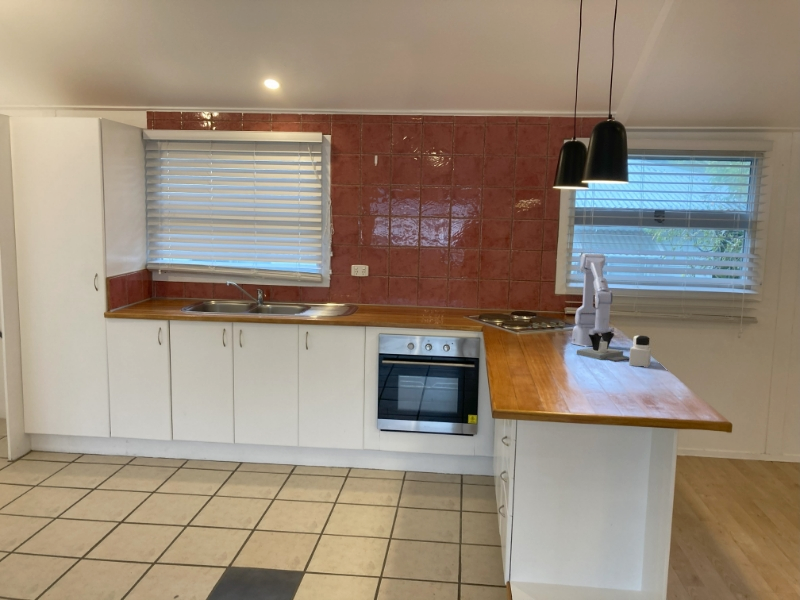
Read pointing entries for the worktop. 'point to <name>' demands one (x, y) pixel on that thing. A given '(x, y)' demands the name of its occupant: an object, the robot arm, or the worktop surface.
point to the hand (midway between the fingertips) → (600, 349)
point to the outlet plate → (597, 355)
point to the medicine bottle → (640, 351)
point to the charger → (602, 347)
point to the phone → (617, 358)
